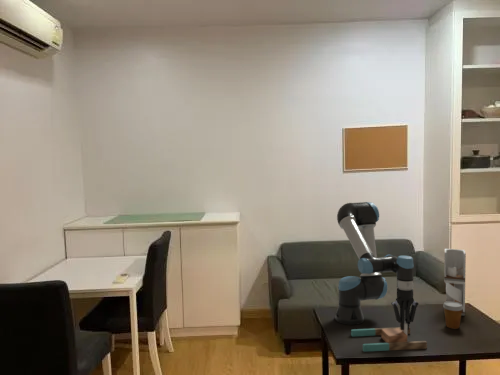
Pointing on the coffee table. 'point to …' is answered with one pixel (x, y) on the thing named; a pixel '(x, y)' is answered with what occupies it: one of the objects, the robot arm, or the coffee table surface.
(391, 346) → the lane walls
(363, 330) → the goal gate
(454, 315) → the disposable coffee cup
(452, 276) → the white open shelf
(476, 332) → the coffee table surface
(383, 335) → the wooden block
